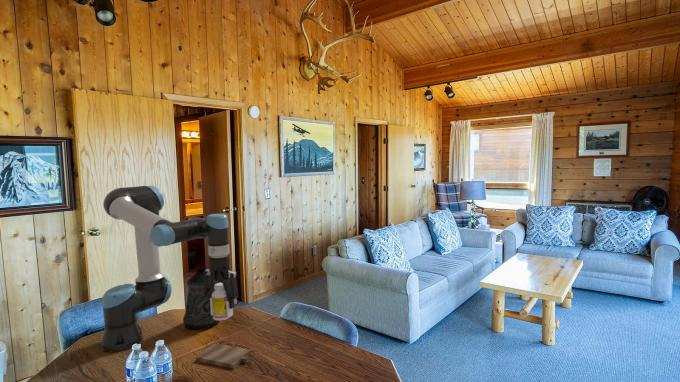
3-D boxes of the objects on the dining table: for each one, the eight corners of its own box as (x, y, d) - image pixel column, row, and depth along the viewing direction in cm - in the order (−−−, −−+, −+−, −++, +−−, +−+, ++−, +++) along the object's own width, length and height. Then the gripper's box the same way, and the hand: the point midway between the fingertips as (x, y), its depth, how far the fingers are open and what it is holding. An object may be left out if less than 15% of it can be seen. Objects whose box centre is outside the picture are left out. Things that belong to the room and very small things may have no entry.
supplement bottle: (225, 321, 136) (224, 288, 135) (209, 320, 137) (207, 287, 136) (234, 314, 142) (232, 282, 141) (218, 313, 144) (217, 281, 143)
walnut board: (196, 360, 139) (195, 357, 139) (215, 346, 149) (215, 343, 149) (239, 369, 132) (239, 365, 132) (256, 354, 142) (256, 350, 142)
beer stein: (178, 323, 172) (174, 270, 169) (217, 310, 185) (215, 262, 183) (191, 335, 159) (188, 278, 157) (233, 321, 173) (230, 269, 170)
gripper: (190, 256, 137) (194, 315, 139) (235, 260, 131) (237, 322, 133) (204, 251, 144) (207, 308, 146) (247, 254, 138) (249, 314, 140)
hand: (222, 314), depth 140 cm, fingers closed on supplement bottle, 7 cm apart
